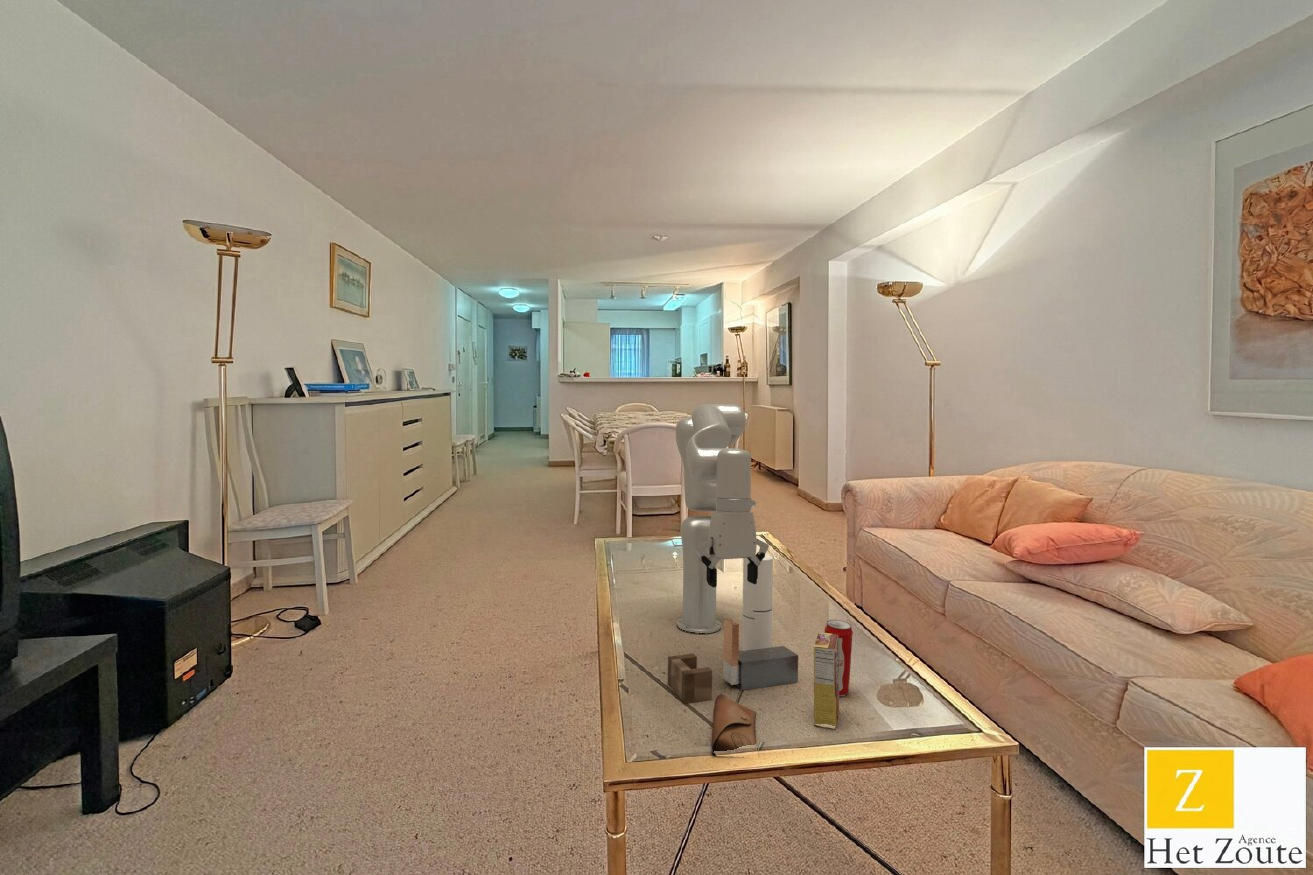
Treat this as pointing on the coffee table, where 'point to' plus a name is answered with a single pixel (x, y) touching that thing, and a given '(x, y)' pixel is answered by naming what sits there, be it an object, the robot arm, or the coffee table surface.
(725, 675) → the tan wooden slab
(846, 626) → the beverage can
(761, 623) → the cylindrical container
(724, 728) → the sunglasses case
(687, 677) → the socket
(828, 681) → the candy box
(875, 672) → the coffee table surface
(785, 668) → the grey metal block
